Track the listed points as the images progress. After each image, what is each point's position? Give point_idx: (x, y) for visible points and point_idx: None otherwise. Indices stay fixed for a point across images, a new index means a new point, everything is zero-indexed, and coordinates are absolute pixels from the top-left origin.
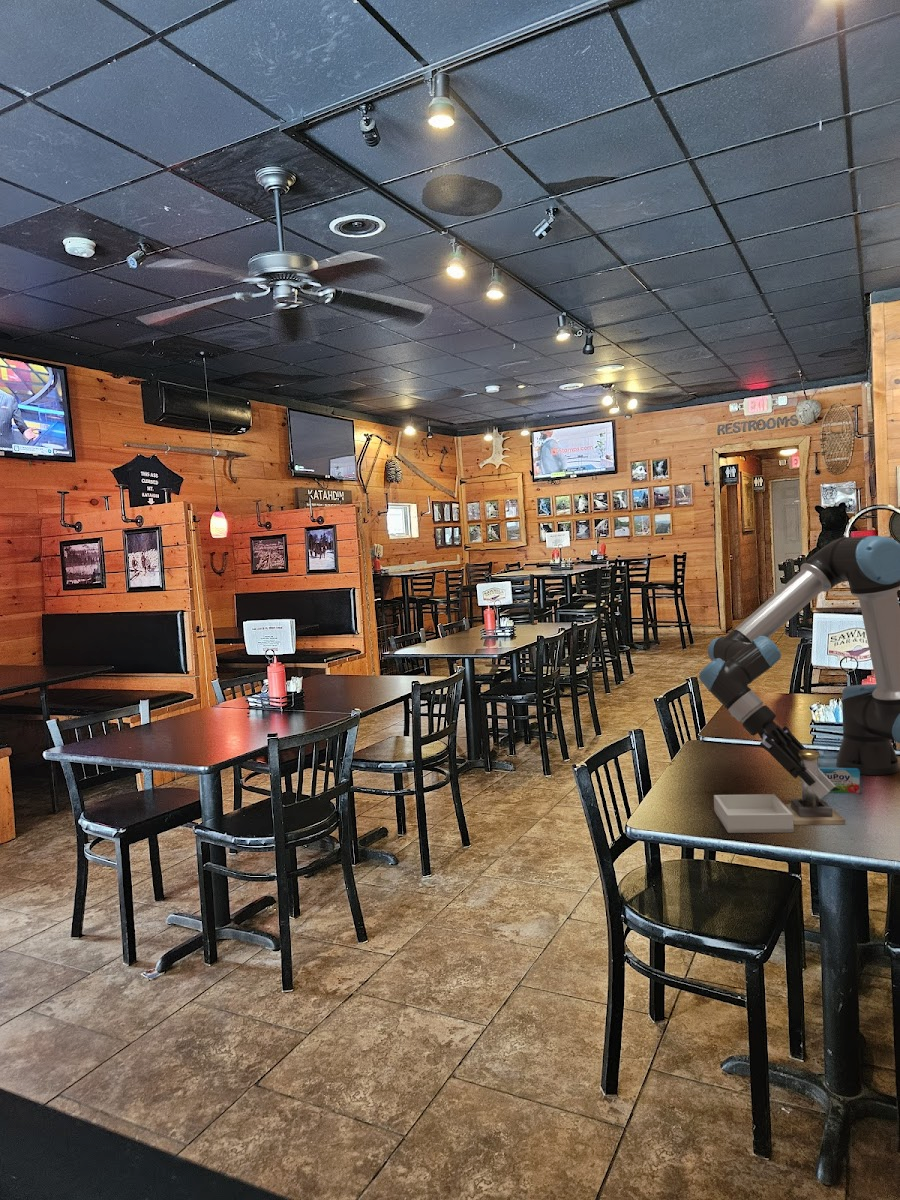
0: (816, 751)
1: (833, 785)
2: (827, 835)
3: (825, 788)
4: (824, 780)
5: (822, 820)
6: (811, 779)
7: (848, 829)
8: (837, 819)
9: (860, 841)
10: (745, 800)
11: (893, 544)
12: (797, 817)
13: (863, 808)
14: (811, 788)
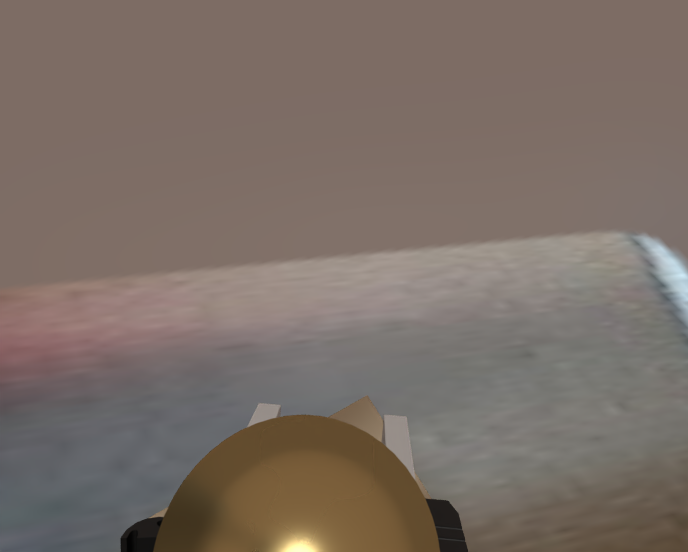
0: (223, 464)
1: (276, 410)
2: (550, 445)
3: (407, 433)
4: None
5: (426, 491)
6: (449, 522)
7: (422, 381)
8: (378, 426)
9: (529, 323)
10: None
11: None
12: None
13: (113, 368)
14: None
